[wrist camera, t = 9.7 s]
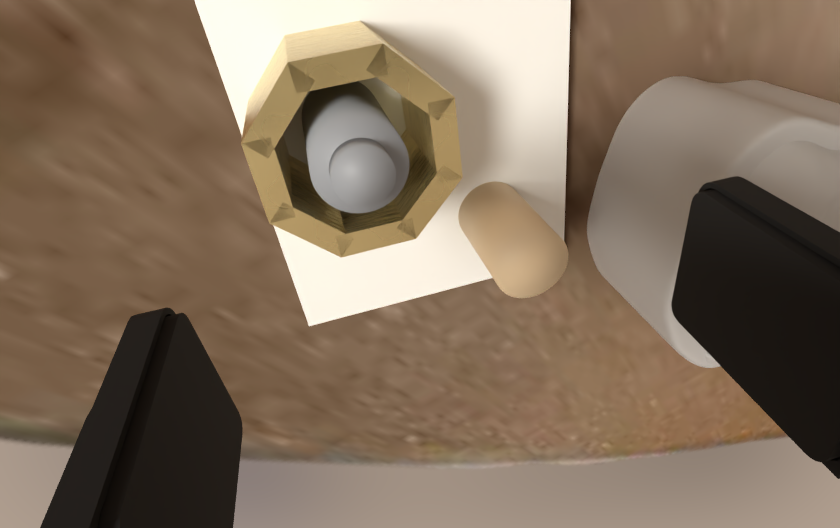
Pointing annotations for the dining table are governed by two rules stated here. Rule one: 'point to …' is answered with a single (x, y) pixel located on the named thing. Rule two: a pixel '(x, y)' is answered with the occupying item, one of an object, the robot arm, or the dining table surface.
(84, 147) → the dining table surface
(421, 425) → the dining table surface
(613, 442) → the dining table surface
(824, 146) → the lumpy-topped squat cylinder
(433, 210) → the brass collar
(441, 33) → the post board
